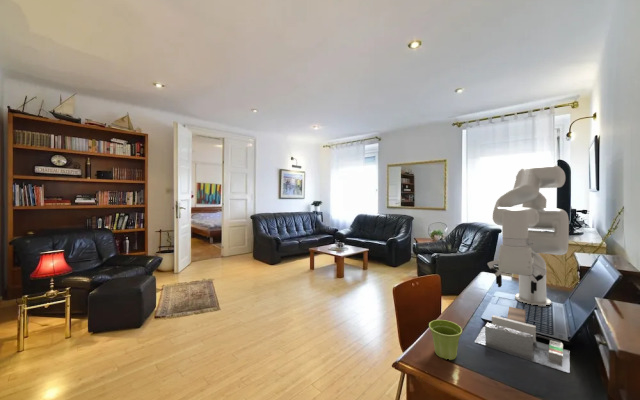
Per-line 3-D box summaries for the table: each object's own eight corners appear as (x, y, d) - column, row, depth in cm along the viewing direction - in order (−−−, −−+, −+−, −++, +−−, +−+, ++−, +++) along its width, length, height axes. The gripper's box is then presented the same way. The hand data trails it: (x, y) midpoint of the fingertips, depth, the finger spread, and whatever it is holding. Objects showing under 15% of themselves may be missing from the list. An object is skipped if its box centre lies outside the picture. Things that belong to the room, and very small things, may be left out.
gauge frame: (483, 327, 96) (483, 310, 96) (569, 351, 80) (569, 331, 80) (474, 342, 87) (474, 324, 87) (569, 373, 71) (569, 351, 71)
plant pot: (470, 361, 77) (469, 332, 77) (441, 366, 76) (440, 337, 76) (449, 343, 87) (448, 318, 86) (423, 347, 85) (422, 321, 85)
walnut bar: (509, 319, 102) (509, 306, 101) (525, 322, 98) (525, 309, 98) (507, 332, 92) (507, 318, 92) (525, 337, 89) (525, 322, 89)
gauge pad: (492, 328, 94) (492, 315, 94) (560, 347, 81) (560, 332, 81) (492, 330, 93) (491, 316, 93) (560, 350, 80) (560, 334, 80)
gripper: (547, 243, 91) (547, 292, 91) (489, 238, 103) (490, 281, 103) (545, 246, 86) (546, 298, 86) (485, 241, 98) (485, 286, 98)
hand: (515, 289), depth 95 cm, fingers open, 9 cm apart
